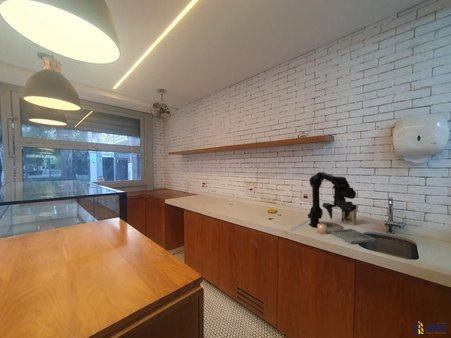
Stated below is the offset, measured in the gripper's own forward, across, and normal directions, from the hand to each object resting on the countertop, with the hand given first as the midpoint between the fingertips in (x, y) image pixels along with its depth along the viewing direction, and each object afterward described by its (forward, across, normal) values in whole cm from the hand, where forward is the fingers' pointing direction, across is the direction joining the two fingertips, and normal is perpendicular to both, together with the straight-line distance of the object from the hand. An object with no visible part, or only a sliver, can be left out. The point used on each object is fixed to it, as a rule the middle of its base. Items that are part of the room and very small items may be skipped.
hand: (338, 218), depth 122 cm
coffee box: (+14, +25, +33) cm, 44 cm away
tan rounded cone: (+14, -6, +10) cm, 18 cm away
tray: (+14, +10, +3) cm, 17 cm away
